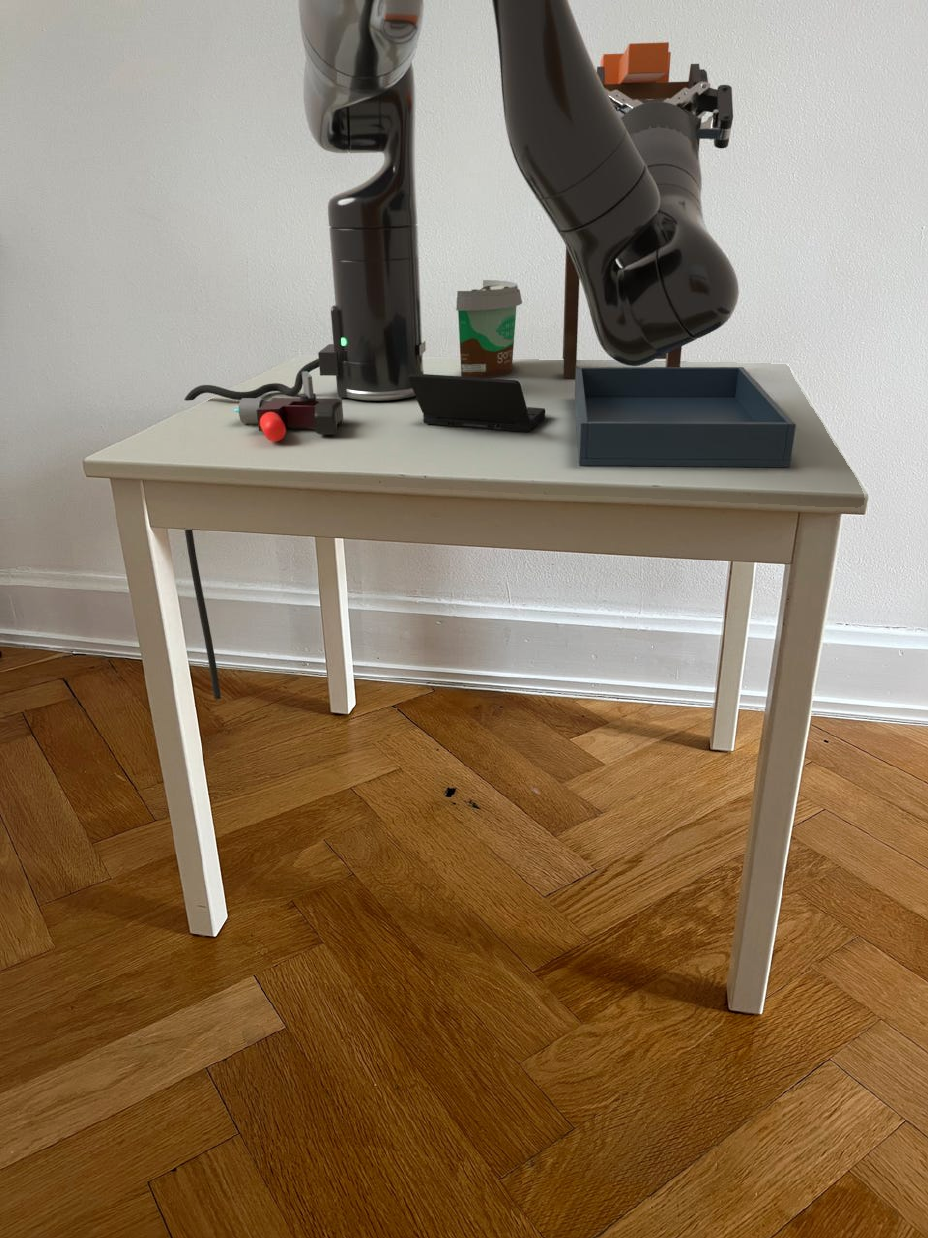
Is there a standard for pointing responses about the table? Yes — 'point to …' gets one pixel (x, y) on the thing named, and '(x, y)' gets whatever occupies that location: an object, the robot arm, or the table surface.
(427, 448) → the table surface
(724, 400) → the tray
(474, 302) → the food container
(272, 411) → the toy gun
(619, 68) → the orange t-shaped block
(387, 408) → the table surface
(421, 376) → the handheld gaming console
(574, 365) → the brown frame
